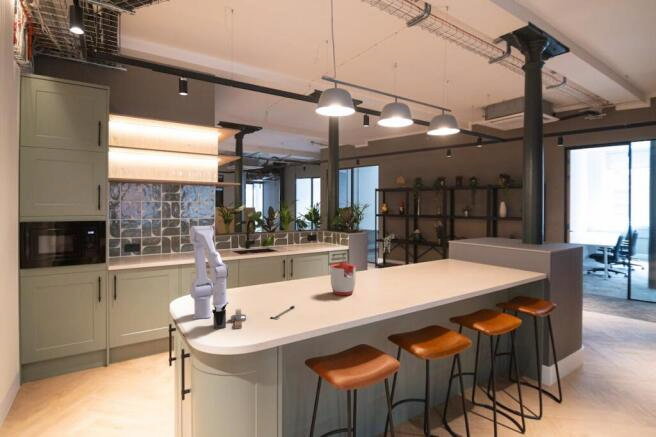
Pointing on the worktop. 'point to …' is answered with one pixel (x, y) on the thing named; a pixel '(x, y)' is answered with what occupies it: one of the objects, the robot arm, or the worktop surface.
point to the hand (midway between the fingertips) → (219, 322)
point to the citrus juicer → (343, 278)
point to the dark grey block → (222, 323)
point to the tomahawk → (282, 313)
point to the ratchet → (238, 319)
